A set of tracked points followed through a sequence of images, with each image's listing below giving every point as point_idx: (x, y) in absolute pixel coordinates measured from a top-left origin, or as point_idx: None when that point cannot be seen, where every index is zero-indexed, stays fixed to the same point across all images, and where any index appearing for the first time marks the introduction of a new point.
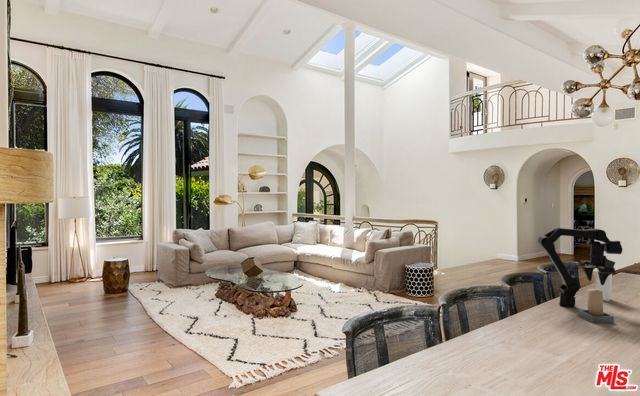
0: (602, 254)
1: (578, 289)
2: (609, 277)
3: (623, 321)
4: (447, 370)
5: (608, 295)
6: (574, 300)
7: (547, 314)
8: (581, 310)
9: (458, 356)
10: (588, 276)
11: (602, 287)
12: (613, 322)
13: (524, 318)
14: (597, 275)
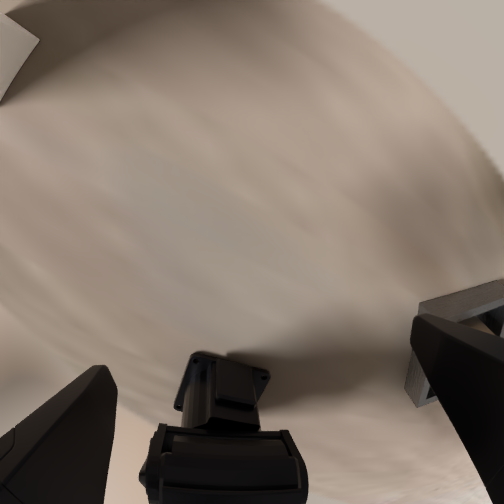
0: None
1: (285, 450)
2: None
3: (487, 217)
4: None
5: (17, 30)
6: (253, 393)
7: (369, 465)
8: (427, 399)
9: (479, 500)
10: (103, 457)
11: None
12: (497, 283)
13: (391, 495)
14: None
